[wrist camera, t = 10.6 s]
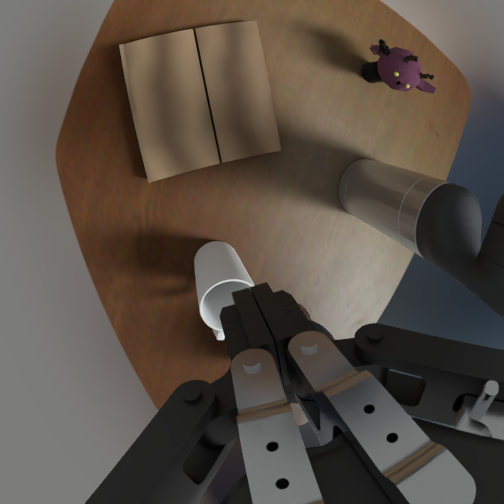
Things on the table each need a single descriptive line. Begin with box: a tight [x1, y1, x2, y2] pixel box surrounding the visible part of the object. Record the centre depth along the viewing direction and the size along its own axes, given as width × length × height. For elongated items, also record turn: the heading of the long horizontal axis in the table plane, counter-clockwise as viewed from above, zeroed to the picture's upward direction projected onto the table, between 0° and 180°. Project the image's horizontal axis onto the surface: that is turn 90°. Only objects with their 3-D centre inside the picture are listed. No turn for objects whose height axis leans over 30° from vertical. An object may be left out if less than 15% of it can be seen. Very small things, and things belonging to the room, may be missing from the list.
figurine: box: [362, 39, 436, 94], centre depth 32 cm, size 8×8×12 cm
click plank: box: [119, 29, 220, 183], centre depth 32 cm, size 9×18×2 cm, turn 10°
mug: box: [194, 241, 254, 340], centre depth 39 cm, size 10×7×12 cm, turn 166°
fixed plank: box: [194, 21, 281, 163], centre depth 34 cm, size 8×18×2 cm, turn 10°
